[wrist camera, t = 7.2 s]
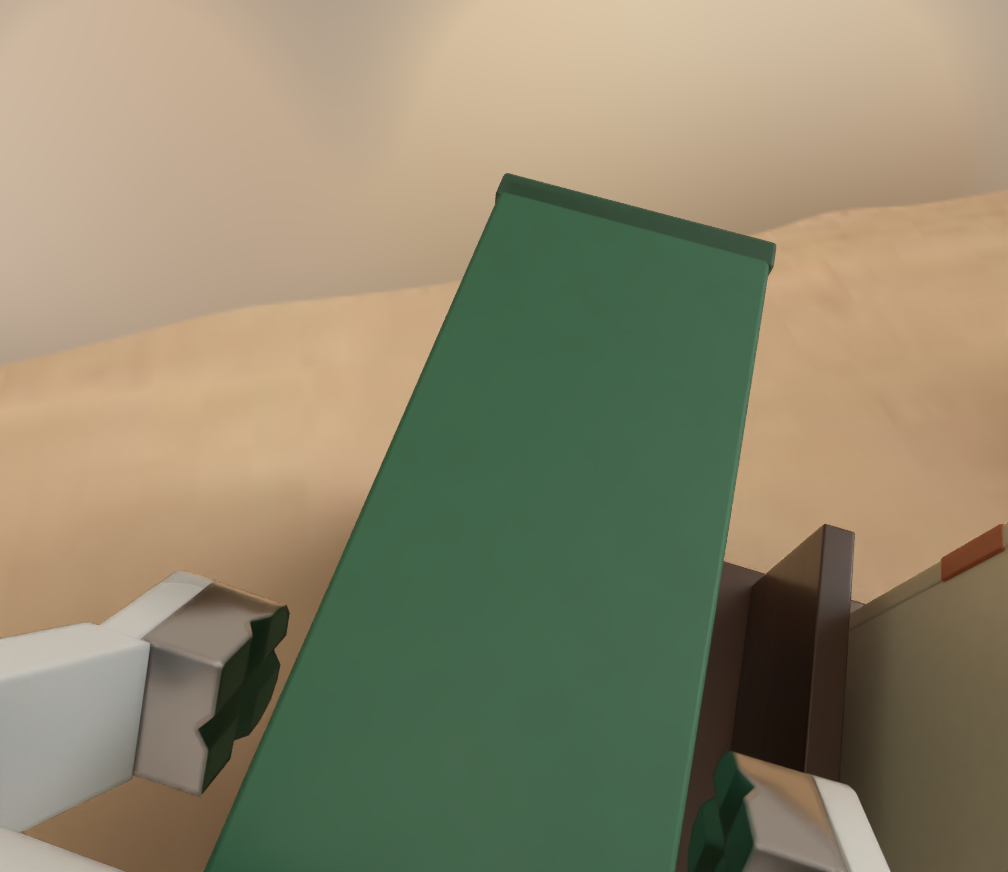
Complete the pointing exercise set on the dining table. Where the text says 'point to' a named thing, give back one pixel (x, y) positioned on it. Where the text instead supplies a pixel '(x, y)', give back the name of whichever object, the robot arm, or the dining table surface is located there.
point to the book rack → (777, 667)
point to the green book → (527, 566)
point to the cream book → (934, 713)
